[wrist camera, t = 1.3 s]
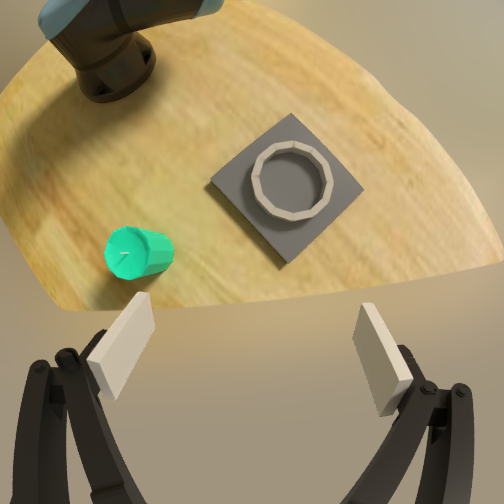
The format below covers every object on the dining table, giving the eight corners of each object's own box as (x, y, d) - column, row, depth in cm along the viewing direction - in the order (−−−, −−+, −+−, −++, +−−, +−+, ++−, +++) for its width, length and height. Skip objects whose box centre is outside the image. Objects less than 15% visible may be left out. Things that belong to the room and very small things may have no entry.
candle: (180, 242, 39) (156, 238, 27) (164, 280, 39) (134, 291, 27) (145, 225, 39) (110, 215, 27) (130, 262, 38) (90, 266, 26)
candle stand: (210, 181, 39) (208, 174, 35) (289, 117, 39) (293, 106, 36) (286, 263, 39) (291, 264, 36) (360, 191, 40) (369, 187, 36)
